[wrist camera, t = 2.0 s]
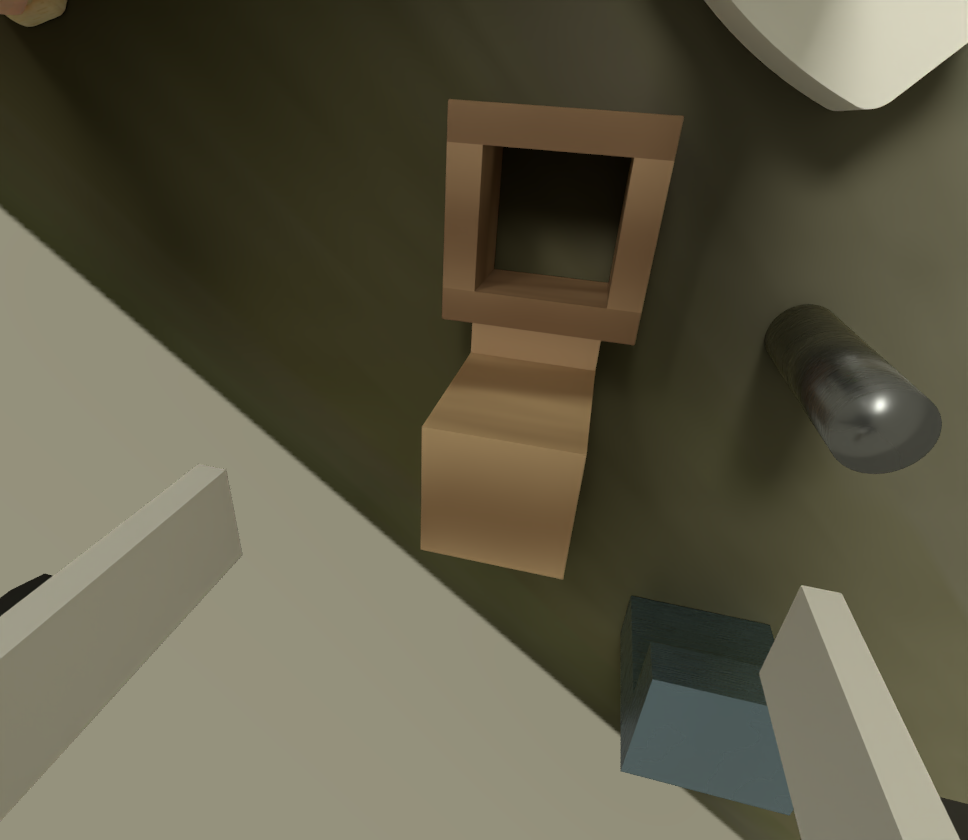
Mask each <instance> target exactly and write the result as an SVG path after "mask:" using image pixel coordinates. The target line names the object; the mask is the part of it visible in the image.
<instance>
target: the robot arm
mask: <svg viewBox="0 0 968 840" xmlns="http://www.w3.org/2000/svg"><path fill="white" fill-rule="evenodd" d="M241 556H242V550H241V544H240V539H239V534H238V528H237V523H236V518H235V513H234V507H233V503H232V497H231V492H230V487H229V482H228V476H227V471H226V469H222V468H217V467H212V466H207V465H202V464H197V465H196V466H195V467H194V468H192V469H191V470H190V471H188V472H187V473H186V474H185V475H183V476H182V477H181V478H179V479H178V480H177V481H175V482H174V483H173V484H171V485H170V486H169V487H168V488H167V489H165V490H164V491H162V492H161V493H160V494H158V495H157V496H156V497H155V498H154V499H152V500H151V501H150V502H148V503H147V504H146V505H144V506H143V507H142V508H140V509H139V510H138V511H136V512H135V513H134V514H133V515H131V516H130V517H129V518H127V519H126V520H125V521H124V522H122V523H121V524H120V525H118V526H117V527H116V528H114V529H113V530H112V531H110V532H109V533H108V534H107V535H105V536H104V537H103V538H101V539H100V540H99V541H98V542H96V543H95V544H94V545H92V546H91V547H90V548H89V549H87V550H86V551H85V552H83V553H82V554H81V555H79V556H78V557H77V558H75V559H74V560H73V561H72V562H70V563H69V564H68V565H67V566H65V567H64V568H63V569H61V570H60V571H59V572H57V573H56V574H55V575H53V576H52V575H48V574H43V575H41V576H39V577H37V578H35V579H33V580H31V581H28V582H26V583H25V584H22V585H20V586H18V587H16V588H14V589H12V590H10V591H9V592H8V593H6V594H5V595H4V596H2V597H1V598H0V821H1V820H2V819H3V818H4V817H5V816H6V815H7V813H8V812H9V811H10V810H11V809H12V808H13V807H14V806H15V805H16V804H17V803H18V801H19V800H20V799H21V798H22V797H23V796H24V795H25V794H26V793H27V792H28V790H29V789H30V788H31V787H32V786H33V785H34V784H35V783H36V782H37V781H38V779H39V778H40V777H41V776H42V775H43V774H44V773H45V772H46V771H47V769H48V768H49V767H50V766H51V765H52V764H53V763H54V762H55V761H56V760H57V758H58V757H59V756H60V755H61V754H62V753H63V752H64V751H65V750H66V749H67V748H68V746H69V745H70V744H71V743H72V742H73V741H74V740H75V739H76V738H77V736H78V735H79V734H80V733H81V732H82V731H83V730H84V729H85V728H86V727H87V725H88V724H89V723H90V722H91V721H92V720H93V719H94V718H95V717H96V716H97V715H98V713H99V712H100V711H101V710H102V709H103V708H104V707H105V706H106V705H107V704H108V702H109V701H110V700H111V699H112V698H113V697H114V696H115V695H116V694H117V692H118V691H119V690H120V689H121V688H122V687H123V686H124V685H125V684H126V683H127V681H128V680H129V679H130V678H131V677H132V676H133V675H134V674H135V673H136V672H137V670H138V669H139V668H140V667H141V666H142V665H143V664H144V663H145V662H146V660H147V659H148V658H149V657H150V656H151V655H152V654H153V653H154V652H155V650H156V649H157V648H158V647H159V646H160V645H161V644H162V643H163V642H164V641H165V640H166V638H167V637H168V636H169V635H170V634H171V633H172V632H173V631H174V630H175V629H176V628H177V626H178V625H179V624H180V623H181V622H182V621H183V620H184V619H185V618H186V617H187V615H188V614H189V613H190V612H191V611H192V610H193V609H194V608H195V607H196V606H197V604H198V603H199V602H200V601H201V600H202V599H203V598H204V597H205V596H206V595H207V593H208V592H209V591H210V590H211V589H212V588H213V587H214V586H215V585H216V584H217V582H218V581H219V580H220V579H221V578H222V577H223V576H224V575H225V574H226V573H227V571H228V570H229V569H230V568H231V567H232V566H233V565H234V564H235V563H236V561H237V560H238V559H239V558H240V557H241ZM759 675H760V679H761V683H762V687H763V691H764V695H765V699H766V703H767V707H768V710H769V714H770V718H771V722H772V726H773V730H774V734H775V738H776V742H777V746H778V750H779V754H780V757H781V761H782V765H783V769H784V773H785V777H786V781H787V785H788V789H789V793H790V797H791V801H792V805H793V808H794V812H795V816H796V820H797V824H798V828H799V832H800V836H801V840H968V804H965V803H961V802H957V801H953V800H949V799H945V798H941V797H939V795H938V793H937V791H936V789H935V787H934V784H933V782H932V780H931V778H930V776H929V774H928V772H927V770H926V768H925V766H924V764H923V762H922V759H921V757H920V755H919V753H918V751H917V749H916V747H915V745H914V743H913V741H912V739H911V737H910V735H909V732H908V730H907V728H906V726H905V724H904V722H903V720H902V718H901V716H900V714H899V712H898V710H897V707H896V705H895V703H894V701H893V699H892V697H891V695H890V693H889V691H888V689H887V687H886V685H885V683H884V680H883V678H882V676H881V674H880V672H879V670H878V668H877V666H876V664H875V662H874V660H873V658H872V655H871V653H870V651H869V649H868V647H867V645H866V643H865V641H864V639H863V637H862V635H861V633H860V631H859V628H858V626H857V624H856V622H855V620H854V618H853V616H852V614H851V612H850V610H849V608H848V606H847V603H846V601H845V599H844V597H843V595H842V593H838V592H833V591H828V590H823V589H818V588H813V587H808V586H803V585H801V586H800V588H799V590H798V593H797V595H796V597H795V599H794V601H793V603H792V605H791V607H790V609H789V611H788V613H787V616H786V618H785V620H784V622H783V624H782V626H781V628H780V630H779V632H778V634H777V636H776V639H775V641H774V643H773V645H772V647H771V649H770V651H769V653H768V655H767V657H766V659H765V662H764V664H763V666H762V668H761V670H760V672H759Z"/></svg>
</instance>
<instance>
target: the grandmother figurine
mask: <svg viewBox="0 0 968 840" xmlns="http://www.w3.org/2000/svg"><path fill="white" fill-rule="evenodd" d="M66 3H67V0H0V14H4V15H6V16H7V17H9V18H10V19H11V20H13V21H15V22H16V23H18V24H20V25H23V26H26V27H32V26H36V25H39V24H42V23H44V22H46V21H48V20H51V19H54V18H56V17H58V16H60V15H62V13H63V12H64V11H65V9H66Z"/></svg>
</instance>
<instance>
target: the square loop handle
mask: <svg viewBox="0 0 968 840" xmlns="http://www.w3.org/2000/svg"><path fill="white" fill-rule="evenodd" d="M683 119H684V116H678V115H664V114H650V113H636V112H622V111H608V110H594V109H580V108H566V107H552V106H538V105H524V104H511V103H497V102H483V101H469V100H455V99H448V121H447V156H446V191H445V227H444V262H443V297H442V319H448V320H455V321H463V322H470V323H472V340H471V353H470V354H469V356H468V357H467V359H466V361H465V362H464V364H463V365H462V367H461V368H460V370H459V371H458V373H457V374H456V376H455V377H454V379H453V380H452V382H451V383H450V385H449V386H448V388H447V389H446V391H445V392H444V394H443V395H442V397H441V398H440V400H439V402H438V403H437V405H436V406H435V408H434V409H433V411H432V412H431V414H430V415H429V417H428V418H427V420H426V421H425V423H424V424H423V426H422V471H421V550H425V551H430V552H435V553H439V554H444V555H449V556H454V557H458V558H463V559H468V560H473V561H477V562H482V563H487V564H492V565H496V566H501V567H506V568H511V569H515V570H520V571H525V572H530V573H534V574H539V575H544V576H549V577H553V578H558V579H563V576H564V571H565V566H566V560H567V555H568V550H569V545H570V539H571V534H572V529H573V524H574V518H575V513H576V508H577V503H578V497H579V492H580V487H581V482H582V476H583V471H584V466H585V460H586V455H587V446H588V436H589V427H590V417H591V408H592V398H593V388H594V379H595V370H596V365H597V359H598V354H599V348H600V343H601V341H607V342H614V343H621V344H628V345H635V341H636V336H637V332H638V327H639V322H640V318H641V313H642V308H643V304H644V299H645V295H646V290H647V285H648V281H649V276H650V272H651V267H652V262H653V258H654V253H655V248H656V244H657V239H658V235H659V230H660V225H661V221H662V216H663V212H664V207H665V202H666V198H667V193H668V188H669V184H670V179H671V175H672V170H673V165H674V161H675V156H676V152H677V147H678V142H679V138H680V133H681V128H682V124H683ZM503 147H515V148H526V149H538V150H550V151H562V152H573V153H585V154H597V155H609V156H621V157H631V162H630V168H629V173H628V179H627V184H626V190H625V196H624V201H623V207H622V212H621V218H620V223H619V229H618V234H617V240H616V245H615V251H614V257H613V262H612V268H611V273H610V279H609V283H605V282H597V281H589V280H581V279H573V278H564V277H556V276H548V275H540V274H532V273H523V272H515V271H507V270H499V269H494V264H495V250H496V237H497V223H498V210H499V197H500V183H501V170H502V156H503Z"/></svg>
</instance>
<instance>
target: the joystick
mask: <svg viewBox="0 0 968 840" xmlns="http://www.w3.org/2000/svg"><path fill="white" fill-rule="evenodd" d="M704 1H705V2H706V4H707V5H708V6H709V7H710V9H711V10H712V11H713V12H714V14H715V15H716V16H717V17H718V18H719V19H720V21H721V22H722V23H723V24H724V25H725V26H726V27H727V29H728V30H729V31H730V32H731V33H732V34H733V35H734V36H735V37H736V38H737V39H738V40H739V41H740V42H741V43H742V44H743V45H744V46H745V47H746V48H747V49H748V50H749V51H750V52H751V53H752V54H753V55H754V56H755V57H757V58H758V59H759V60H760V61H761V62H762V63H763V64H764V65H766V66H767V67H768V68H769V69H770V70H772V71H773V72H774V73H775V74H777V75H778V76H779V77H780V78H782V79H783V80H784V81H786V82H787V83H788V84H790V85H791V86H792V87H794V88H795V89H797V90H798V91H800V92H801V93H803V94H804V95H806V96H807V97H809V98H810V99H812V100H813V101H815V102H816V103H818V104H820V105H821V106H823V107H825V108H826V109H829V110H832V111H848V110H865V109H875V108H879V107H882V106H884V105H886V104H888V103H889V102H891V101H892V100H894V99H895V98H896V97H898V96H899V95H900V94H902V93H903V92H904V91H905V90H907V89H908V88H909V87H911V86H912V85H913V84H915V83H916V82H917V81H918V80H920V79H921V78H922V77H924V76H925V75H926V74H928V73H929V72H930V71H932V70H933V69H934V68H935V67H937V66H938V65H939V64H941V63H942V62H943V61H945V60H946V59H947V58H948V57H950V56H951V55H952V54H954V53H955V52H956V51H958V50H959V49H960V48H962V47H963V46H964V45H965V44H967V43H968V0H704Z"/></svg>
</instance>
